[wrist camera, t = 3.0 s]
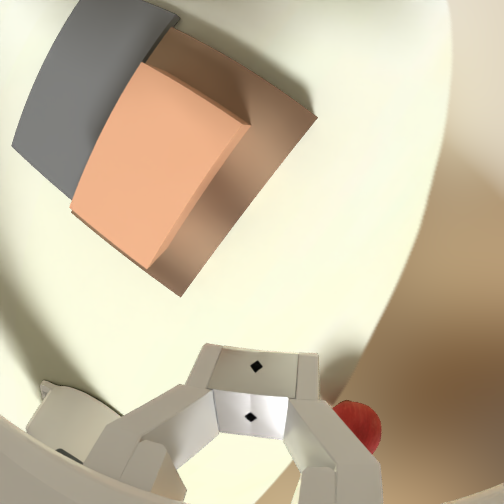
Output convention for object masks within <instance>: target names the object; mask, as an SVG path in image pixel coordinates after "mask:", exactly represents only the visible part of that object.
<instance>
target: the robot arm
mask: <svg viewBox="0 0 504 504" xmlns="http://www.w3.org/2000/svg"><path fill="white" fill-rule="evenodd" d="M40 389H41V394H42V398H43V401H42V402H41V404H40V405H39V407H38V408H37V410H36V411H35V413H34V415H33V416H32V418H31V419H30V421H29V422H28V424H27V426H26V431H27V433H26V432H24V431H23V430H21V429H20V428H18V427H17V426H16V425H14V424H13V423H11V422H10V421H8V420H7V419H6V418H4V417H3V416H2V415H0V504H189V503H185V502H183V501H184V498H185V495H186V492H187V489H186V487H185V485H184V484H183V482H182V480H181V478H180V476H179V474H178V472H177V469H178V468H180V467H181V466H182V465H183V464H184V463H186V462H187V461H188V460H189V459H191V458H192V457H193V456H194V455H195V454H197V453H198V452H199V451H200V450H201V449H202V448H204V447H205V446H206V445H207V444H208V443H209V442H211V441H212V440H213V439H214V438H215V437H216V436H217V435H218V434H219V432H222V433H230V434H238V435H247V436H255V437H262V438H271V439H280V440H283V442H284V444H285V446H286V448H287V449H288V451H289V453H290V455H291V457H292V458H293V460H294V462H295V464H296V466H297V467H298V469H299V471H300V473H301V476H300V479H299V482H298V485H297V488H296V491H295V494H294V496H293V499H292V502H291V504H383V491H382V479H381V478H382V477H381V467H380V463H379V462H378V461H377V460H376V459H375V457H374V456H373V455H372V454H371V453H370V452H369V451H368V449H367V448H366V447H365V446H364V445H363V444H362V443H361V442H360V440H359V439H358V438H357V437H356V436H355V435H354V433H353V432H352V431H351V430H350V429H349V428H348V427H347V425H346V424H345V423H344V422H343V421H342V420H341V418H340V417H339V416H338V415H337V414H336V413H335V411H334V410H333V409H332V408H331V407H330V406H329V404H328V403H327V402H326V401H325V400H319V355H318V353H299V354H298V353H293V352H277V351H264V350H254V349H246V348H238V347H231V346H221V345H215V344H208V343H206V344H205V345H204V346H202V348H201V351H200V353H199V355H198V357H197V359H196V361H195V364H194V366H193V368H192V370H191V372H190V374H189V377H188V379H187V381H186V383H185V385H182V384H179V385H177V386H175V387H173V388H172V389H170V390H168V391H167V392H165V393H163V394H161V395H160V396H158V397H156V398H155V399H153V400H151V401H149V402H147V403H146V404H144V405H142V406H140V407H139V408H137V409H135V410H133V411H131V412H129V413H128V414H126V415H124V416H122V417H121V416H120V415H118V414H117V413H116V412H114V411H113V410H112V409H110V408H109V407H108V406H106V405H105V404H103V403H102V402H100V401H98V400H97V399H95V398H93V397H92V396H90V395H88V394H86V393H84V392H82V391H79V390H77V389H74V388H71V387H67V386H57V385H54V384H52V383H50V382H48V381H45V380H43V381H42V383H41V384H40ZM442 504H504V483H502V484H500V485H497V486H495V487H492V488H490V489H487V490H484V491H482V492H479V493H476V494H473V495H470V496H467V497H464V498H460V499H457V500H453V501H450V502H446V503H442Z"/></svg>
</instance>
